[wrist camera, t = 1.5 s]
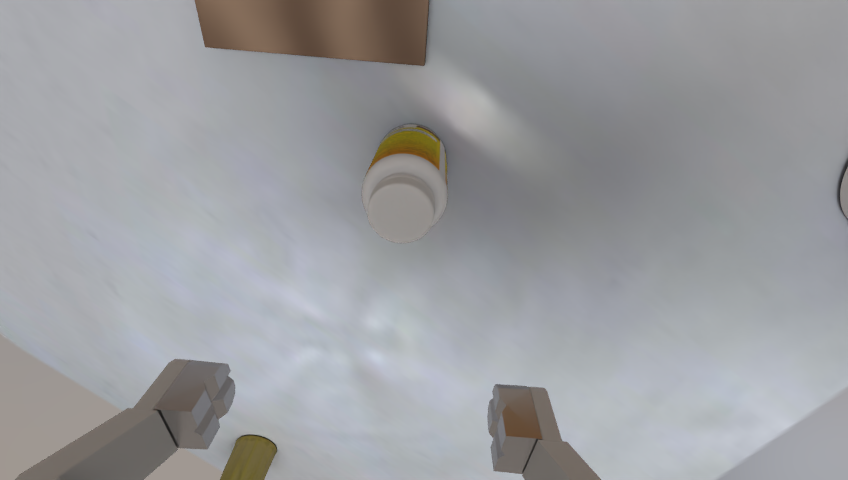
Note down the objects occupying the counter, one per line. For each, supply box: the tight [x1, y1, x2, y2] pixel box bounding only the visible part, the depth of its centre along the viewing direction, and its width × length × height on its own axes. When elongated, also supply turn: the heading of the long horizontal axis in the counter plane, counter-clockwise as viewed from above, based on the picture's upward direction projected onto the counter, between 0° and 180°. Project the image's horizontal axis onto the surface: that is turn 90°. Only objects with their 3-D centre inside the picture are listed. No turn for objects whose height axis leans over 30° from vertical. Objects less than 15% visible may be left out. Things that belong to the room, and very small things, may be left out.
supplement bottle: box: [362, 124, 448, 243], centre depth 25 cm, size 6×6×10 cm
